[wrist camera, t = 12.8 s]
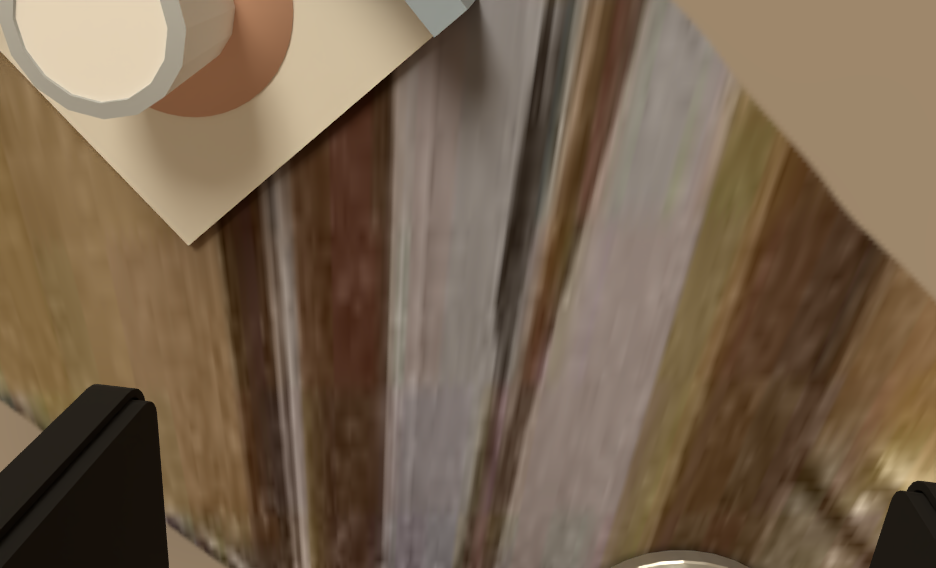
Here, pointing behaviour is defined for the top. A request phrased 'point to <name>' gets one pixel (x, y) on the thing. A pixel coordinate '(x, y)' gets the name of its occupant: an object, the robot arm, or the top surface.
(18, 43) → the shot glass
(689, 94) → the top surface
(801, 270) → the top surface
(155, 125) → the arena
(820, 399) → the top surface
